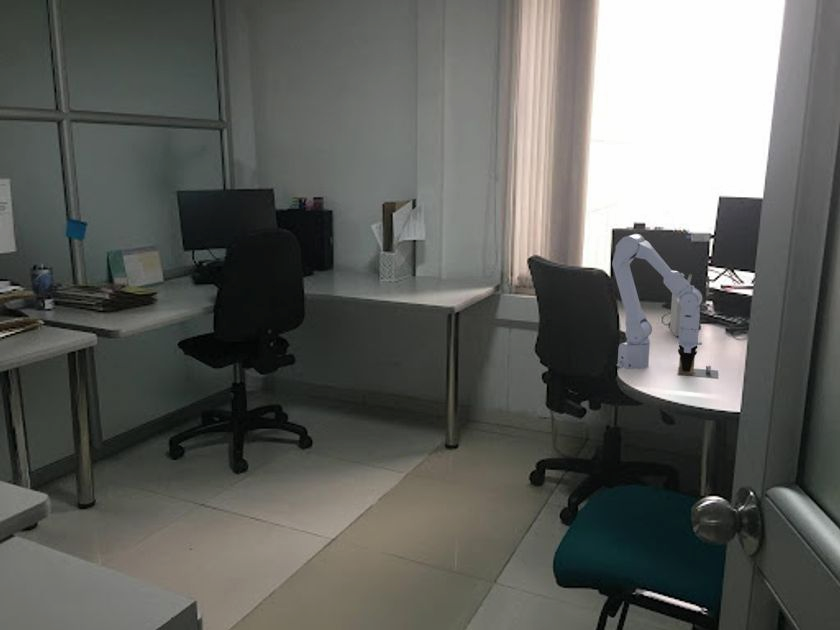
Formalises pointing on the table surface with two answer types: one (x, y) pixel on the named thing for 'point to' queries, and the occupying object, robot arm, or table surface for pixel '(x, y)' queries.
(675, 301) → the fuel canister
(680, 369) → the hollow block
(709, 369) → the steel pin
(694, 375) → the pin plate
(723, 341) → the table surface
